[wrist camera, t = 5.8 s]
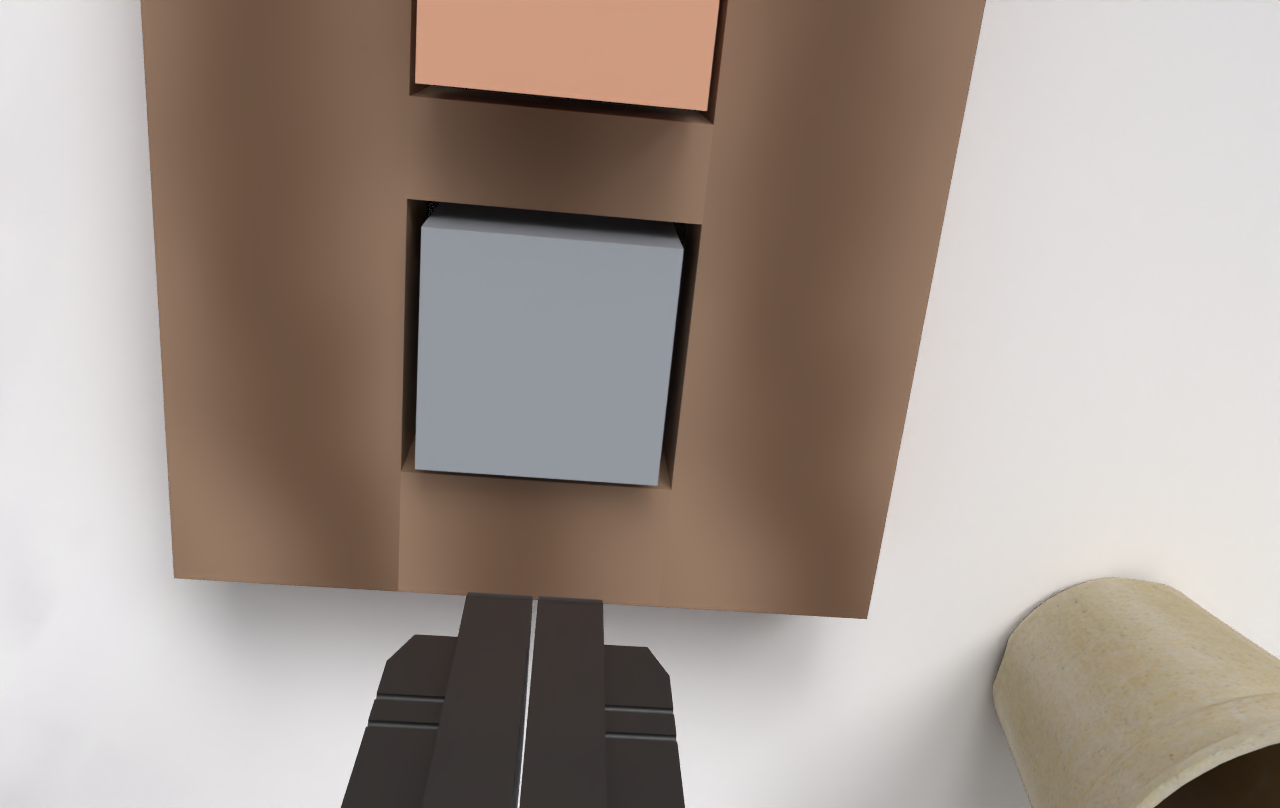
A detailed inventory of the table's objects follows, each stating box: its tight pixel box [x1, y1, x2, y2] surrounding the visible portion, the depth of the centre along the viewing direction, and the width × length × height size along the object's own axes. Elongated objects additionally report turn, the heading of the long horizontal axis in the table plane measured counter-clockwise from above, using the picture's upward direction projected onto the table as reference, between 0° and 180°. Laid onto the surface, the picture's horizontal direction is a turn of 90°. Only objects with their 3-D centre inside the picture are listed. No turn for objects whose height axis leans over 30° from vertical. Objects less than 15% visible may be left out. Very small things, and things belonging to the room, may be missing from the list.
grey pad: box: [415, 202, 684, 486], centre depth 24 cm, size 5×5×3 cm
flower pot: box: [993, 577, 1280, 808], centre depth 26 cm, size 9×9×9 cm
